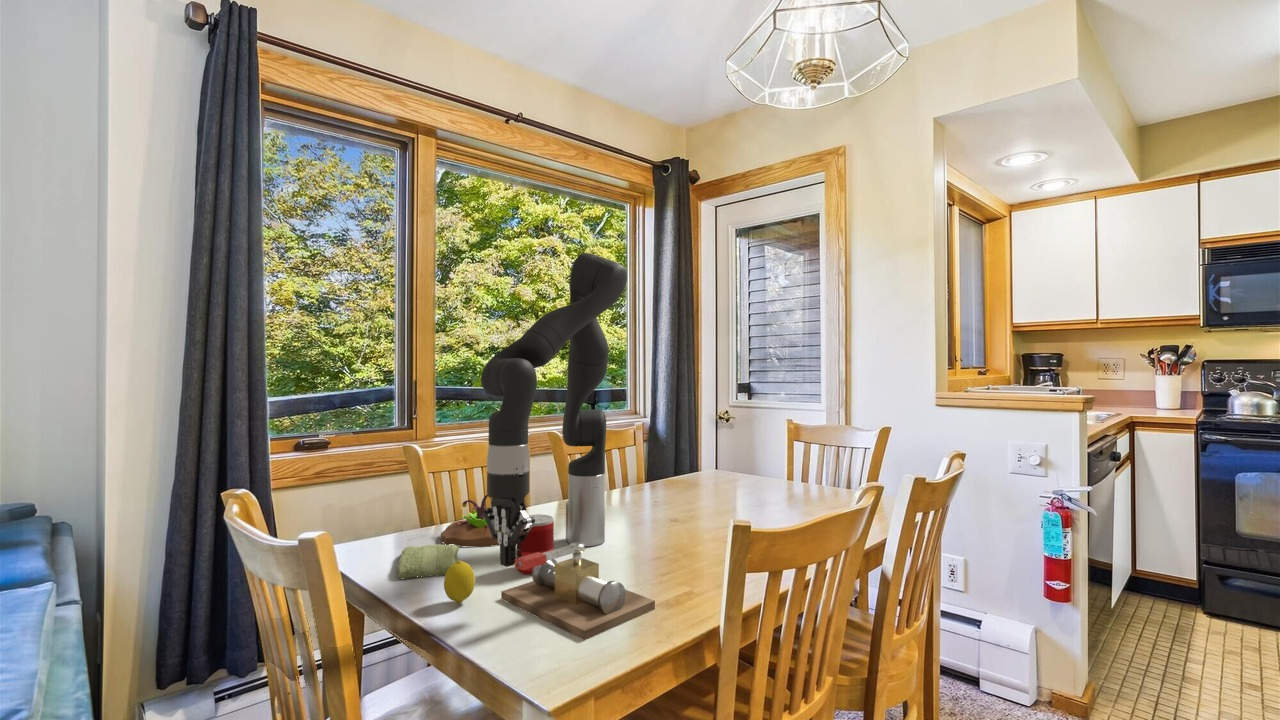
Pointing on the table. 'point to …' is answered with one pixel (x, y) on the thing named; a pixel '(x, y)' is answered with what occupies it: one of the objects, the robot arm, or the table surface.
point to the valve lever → (547, 556)
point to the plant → (470, 529)
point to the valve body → (580, 583)
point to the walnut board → (574, 609)
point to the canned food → (537, 538)
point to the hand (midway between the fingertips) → (507, 564)
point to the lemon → (459, 581)
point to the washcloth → (426, 560)
